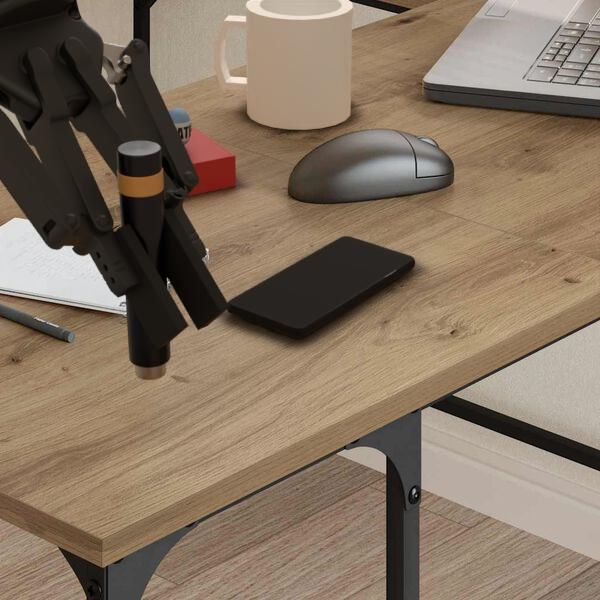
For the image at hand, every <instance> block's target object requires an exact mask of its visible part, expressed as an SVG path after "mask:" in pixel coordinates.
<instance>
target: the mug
mask: <svg viewBox="0 0 600 600" xmlns="http://www.w3.org/2000/svg"><path fill="white" fill-rule="evenodd" d="M353 7H354V3H353V2H352V1H350V0H248V1H246V4H245V15H233V14H232V15H231V14H228V15H227V16H226V18H224V20H223V22H222V24H221V25H220V28H219V30H218V32H217V34H216V37H215V38H214V40H213V66H212V67H213V70H214V71H215V75H216V79H217V81H218V84H219V88H220V89H221V90H232V91H246V114H247V115H248V117H249V118H250V119H251V120H252V121H254V122H256V123H258V124H260V125H263V126H266V127H270V128H275V129H283V130H297V131H299V130H302V131H303V130H304V131H307V130H317V129H324V128H328V127H333V126H336V125H339V124H341V123H343V122H345V121H347V119H349V118H350V116H351V101H352V61H353V60H352V59H353V57H352V55H353V54H352V53H353V13H354V10H353V9H354V8H353ZM231 29H239V30H240V29H241V30H245V44H246V45H245V47H246V48H245V49H246V51H245V54H246V55H245V56H246V59H245V60H246V77H244V76H243V77H241V76H232V75H231V74H230V71H229V67H228V64H227V62H226V39H227V36H228V34H229V32H230V30H231Z"/></svg>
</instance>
